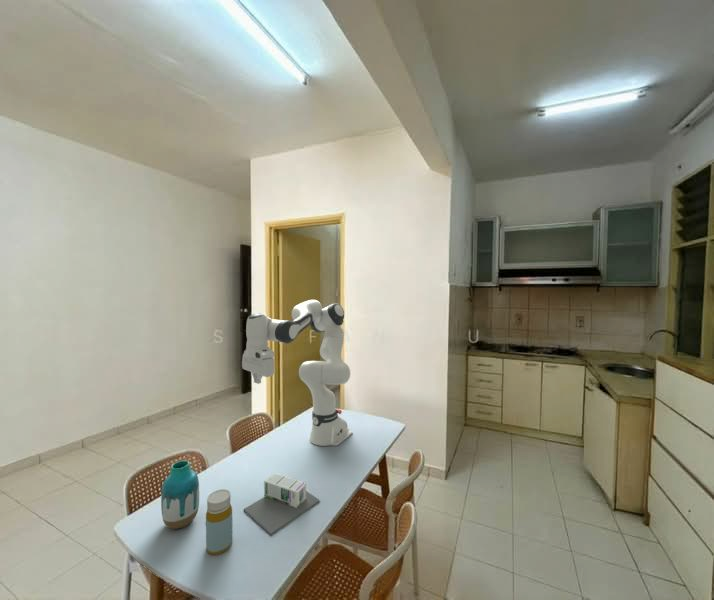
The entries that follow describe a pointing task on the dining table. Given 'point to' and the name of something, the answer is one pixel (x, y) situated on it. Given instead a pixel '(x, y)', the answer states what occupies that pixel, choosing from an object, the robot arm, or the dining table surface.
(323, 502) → the dining table surface
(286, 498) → the syrup box
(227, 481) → the dining table surface
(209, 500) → the bottle
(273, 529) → the mat
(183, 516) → the vase
